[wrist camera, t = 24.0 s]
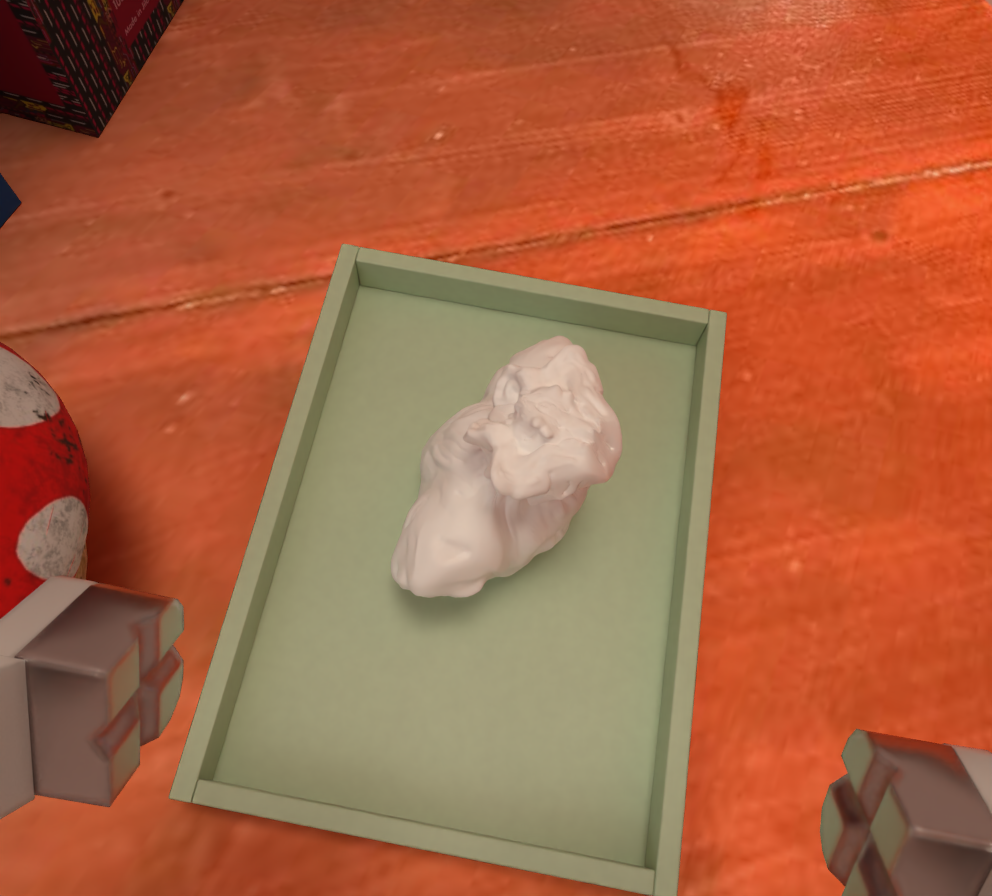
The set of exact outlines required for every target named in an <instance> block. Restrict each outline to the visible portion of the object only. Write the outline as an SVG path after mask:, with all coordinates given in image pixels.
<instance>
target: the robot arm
mask: <svg viewBox="0 0 992 896" xmlns="http://www.w3.org/2000/svg"><path fill="white" fill-rule="evenodd" d="M183 630H184V615H183V606H182V604H181V603H180V602H179V600H178V599H175V598H170V597H165V596H161V595H156V594H151V593H147V592H142V591H137V590H132V589H128V588H123V587H118V586H114V585H109V584H104V583H97V582H94V581H89V580H84V579H79V578H73V577H68V576H63V575H61V576H54V577H50V578H49V579H47V580H46V581H45V582H44V583H43V584H42V585H40V586H39V587H38V588H37V589H36V590H34V591H33V592H32V593H31V594H30V595H28V596H27V597H26V598H25V599H24V600H22V601H21V602H20V603H19V604H18V605H17V606H15V607H14V608H13V609H12V610H11V611H9V612H8V613H7V614H6V615H5V616H3V617H2V618H1V619H0V819H2V818H3V817H5V816H7V815H8V814H10V813H12V812H13V811H15V810H17V809H18V808H20V807H22V806H23V805H25V804H27V803H28V802H30V801H32V800H33V799H34V798H35V797H34V795H40V796H46V797H52V798H58V799H63V800H69V801H75V802H81V803H87V804H93V805H99V806H105V807H110V806H111V805H112V803H113V802H114V800H115V799H116V798H117V796H118V795H119V793H120V792H121V791H122V789H123V788H124V786H125V785H126V783H127V782H128V781H129V779H130V778H131V776H132V775H133V773H134V772H135V771H136V769H137V768H138V766H139V765H140V746H142V745H144V744H146V743H148V742H150V741H152V740H155V739H157V738H159V736H160V735H161V733H162V732H163V730H164V729H165V727H166V726H167V724H168V723H169V721H170V719H171V717H172V714H173V712H174V709H175V707H176V704H177V702H178V699H179V696H180V691H181V686H182V680H183V659H182V658H181V656H180V655H179V653H178V652H177V650H176V649H175V647H174V646H173V643H174V642H175V641H176V639H177V638H178V637H179V636H180V634H181V633H182V632H183ZM841 756H842V759H843V761H844V764H845V767H846V769H847V772H848V773H847V774H846V775H844V776H843V777H841V778H840V779H838V780H837V781H835V782H834V783H832V784H831V785H830V786H829V789H828V792H827V794H826V797H825V800H824V803H823V806H822V814H821V825H820V836H821V844H822V851H823V854H824V858H825V861H826V864H827V868H828V870H829V871H830V872H831V873H832V874H833V875H834V876H835V877H836V878H837V879H838V880H839V881H840V882H841V883H842V884H843V885H844V886H845V889H844V891H843V894H842V896H992V753H991V752H989V751H988V750H983V749H976V748H970V747H964V746H957V745H951V744H945V743H944V744H938V743H932V742H927V741H921V740H915V739H910V738H904V737H899V736H893V735H888V734H882V733H877V732H871V731H865V730H860V729H856V730H855V731H854V732H853V733H852V735H851V736H850V737H849V738H848V740H847V743H846V745H845V747H844V750H843V752H842V755H841Z"/></svg>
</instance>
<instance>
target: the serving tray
mask: <svg viewBox="0 0 992 896" xmlns="http://www.w3.org/2000/svg"><path fill="white" fill-rule="evenodd" d="M726 318H727V313H726V312H721V311H715V310H710V311H709V310H708V309H704V308H698V307H693V306H687V305H682V304H676V303H671V302H665V301H659V300H654V299H648V298H643V297H637V296H631V295H626V294H620V293H615V292H609V291H603V290H598V289H592V288H587V287H581V286H575V285H570V284H564V283H559V282H553V281H548V280H542V279H536V278H531V277H525V276H520V275H514V274H508V273H503V272H497V271H492V270H486V269H480V268H475V267H469V266H464V265H458V264H453V263H447V262H441V261H436V260H430V259H425V258H419V257H413V256H408V255H402V254H397V253H391V252H385V251H380V250H374V249H369V248H363V247H360V248H359V247H358V246H353V245H348V244H342V246H341V249H340V252H339V255H338V258H337V262H336V265H335V268H334V271H333V274H332V278H331V281H330V284H329V287H328V290H327V294H326V297H325V300H324V303H323V306H322V309H321V313H320V316H319V319H318V322H317V325H316V329H315V332H314V335H313V338H312V341H311V345H310V348H309V351H308V354H307V357H306V361H305V364H304V367H303V370H302V373H301V376H300V380H299V383H298V386H297V389H296V392H295V396H294V399H293V402H292V405H291V408H290V412H289V415H288V418H287V421H286V424H285V427H284V431H283V434H282V437H281V440H280V443H279V447H278V450H277V453H276V456H275V459H274V463H273V466H272V469H271V472H270V475H269V478H268V482H267V485H266V488H265V491H264V494H263V498H262V501H261V504H260V507H259V510H258V514H257V517H256V520H255V523H254V526H253V529H252V533H251V536H250V539H249V542H248V545H247V549H246V552H245V555H244V558H243V561H242V565H241V568H240V571H239V574H238V577H237V581H236V584H235V587H234V590H233V593H232V596H231V600H230V603H229V606H228V609H227V612H226V616H225V619H224V622H223V625H222V628H221V632H220V635H219V638H218V641H217V644H216V647H215V651H214V654H213V657H212V660H211V663H210V667H209V670H208V673H207V676H206V679H205V683H204V686H203V689H202V692H201V695H200V698H199V702H198V705H197V708H196V711H195V714H194V718H193V721H192V724H191V727H190V730H189V734H188V737H187V740H186V743H185V746H184V749H183V753H182V756H181V759H180V762H179V765H178V769H177V772H176V775H175V778H174V781H173V785H172V788H171V791H170V794H169V799H173V800H178V801H183V802H188V803H194V804H198V805H203V806H208V807H213V808H218V809H223V810H228V811H233V812H238V813H243V814H248V815H253V816H258V817H263V818H268V819H273V820H278V821H283V822H288V823H292V824H297V825H302V826H307V827H312V828H317V829H322V830H327V831H332V832H337V833H342V834H347V835H352V836H357V837H362V838H367V839H372V840H377V841H382V842H387V843H392V844H397V845H402V846H406V847H411V848H416V849H421V850H426V851H431V852H436V853H441V854H446V855H451V856H456V857H461V858H466V859H471V860H476V861H481V862H486V863H491V864H496V865H501V866H506V867H511V868H516V869H521V870H525V871H530V872H535V873H540V874H545V875H550V876H555V877H560V878H565V879H570V880H575V881H580V882H585V883H590V884H595V885H600V886H605V887H610V888H615V889H620V890H625V891H630V892H635V893H640V894H644V895H649V896H651V895H653V896H677V892H678V880H679V868H680V857H681V845H682V833H683V822H684V810H685V798H686V786H687V775H688V763H689V751H690V740H691V728H692V716H693V704H694V693H695V681H696V669H697V658H698V646H699V634H700V623H701V611H702V599H703V587H704V576H705V564H706V552H707V541H708V529H709V517H710V505H711V494H712V482H713V470H714V459H715V447H716V435H717V423H718V412H719V400H720V388H721V377H722V365H723V353H724V342H725V330H726ZM555 336H564V337H566V338H568V339H569V340H570V341H571V342H572V344H573V345H579V346H581V347H582V348H583V349H584V350H585V352H586V355H587V358H588V360H589V362H591V363H592V364H594V365H595V367H596V369H597V371H598V374H599V377H600V380H601V384H602V387H603V394H602V396H603V397H604V399H605V401H606V402H607V403H608V404H609V406H610V407H611V408H612V409H613V411H614V412H615V414H616V416H617V418H618V421H619V424H620V429H621V434H622V453H621V456H620V458H619V460H618V462H617V463H616V465H615V469H614V473H613V475H612V476H611V477H610V479H608V481H606V482H605V483H602V484H593V485H590V488H589V489H588V491H587V495H586V498H585V500H584V502H583V504H582V505H581V507H580V509H579V511H578V512H577V513H576V514H575V515H574V516H573V517H572V519H571V521H570V524H569V528H568V530H567V532H566V534H565V535H564V536H563V538H562V539H561V540H560V541H559V542H558V543H557V544H556V545H554V547H553V548H552V549H550V550H548V551H545V552H542V553H540V554H537V555H536V556H534V557H533V559H532V560H531V561H530V562H529V563H528V564H527V565H526V566H524V567H523V568H522V569H520V570H519V571H517V572H516V573H514V574H512V575H510V576H508V577H495V578H492V579H489V580H487V581H486V582H485V584H484V585H483V587H482V589H481V590H480V591H479V592H478V593H476V594H474V595H472V596H469V597H462V598H461V597H457V598H454V597H451V596H436V597H432V598H427V597H422V596H416V595H414V594H413V593H412V592H411V591H410V590H406V589H402V588H401V587H400V586H399V584H398V583H397V582H396V581H395V580H394V579H393V577H392V574H391V559H392V555H393V553H394V550H395V548H396V545H397V543H398V540H399V537H400V535H401V533H402V528H403V524H404V522H405V520H406V517H407V514H408V512H409V510H410V509H411V507H412V506H413V504H414V503H415V501H416V500H417V499H418V493H419V488H420V484H421V473H420V462H421V452H422V449H423V447H424V446H425V445H426V443H427V441H428V439H429V438H430V437H431V435H433V434H434V433H435V432H436V431H437V430H438V429H439V428H440V427H441V426H442V425H443V424H444V423H445V422H446V421H447V420H449V419H450V418H451V417H452V416H454V415H455V414H456V413H457V412H459V411H460V410H462V409H463V408H465V407H467V406H470V405H473V404H476V403H479V402H480V401H481V400H482V398H483V396H484V394H485V391H486V388H487V386H488V384H489V383H490V381H491V379H492V377H493V376H494V374H495V373H496V371H497V370H498V369H500V368H501V367H503V366H506V365H507V364H509V361H510V358H511V357H512V356H513V355H514V354H516V353H518V352H520V351H523V350H525V349H526V348H528V347H530V346H533V345H535V344H537V343H538V342H540V341H542V340H548V339H550V338H552V337H555Z"/></svg>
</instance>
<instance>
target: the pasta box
mask: <svg viewBox="0 0 992 896" xmlns="http://www.w3.org/2000/svg"><path fill="white" fill-rule="evenodd" d="M20 204H21V201H20V200H19V199H18V197H17V196H16V194H15V193H14V192H13V190H12V189H11V187H10V186H9V185H8V183H7V182H6V180H5V179H4V178H3V176H2V175H1V173H0V227H1V226H2V225H3V224H4V223H5V221H6V220H7V219H8V218H9V217H10V216H11V214H12V213H13V212H14V211H15V210H16V208H17V207H18V206H19V205H20Z"/></svg>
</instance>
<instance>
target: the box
mask: <svg viewBox="0 0 992 896" xmlns="http://www.w3.org/2000/svg"><path fill="white" fill-rule="evenodd" d="M182 2H183V0H0V112H2V113H6V114H10V115H14V116H18V117H22V118H25V119H29V120H33V121H37V122H41V123H45V124H48V125H52V126H56V127H60V128H64V129H68V130H72V131H75V132H79V133H83V134H87V135H91V136H95V137H99V135H100V134H101V132H102V131H103V129H104V127H105V126H106V124H107V123H108V121H109V119H110V118H111V116H112V115H113V113H114V111H115V110H116V108H117V106H118V105H119V103H120V102H121V100H122V98H123V97H124V95H125V94H126V92H127V90H128V89H129V87H130V86H131V84H132V82H133V81H134V79H135V78H136V76H137V74H138V73H139V71H140V69H141V68H142V66H143V65H144V63H145V61H146V60H147V58H148V57H149V55H150V53H151V52H152V50H153V49H154V47H155V45H156V44H157V42H158V40H159V39H160V37H161V36H162V34H163V32H164V31H165V29H166V28H167V26H168V24H169V23H170V21H171V20H172V18H173V16H174V15H175V13H176V12H177V10H178V8H179V7H180V5H181V3H182Z"/></svg>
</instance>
